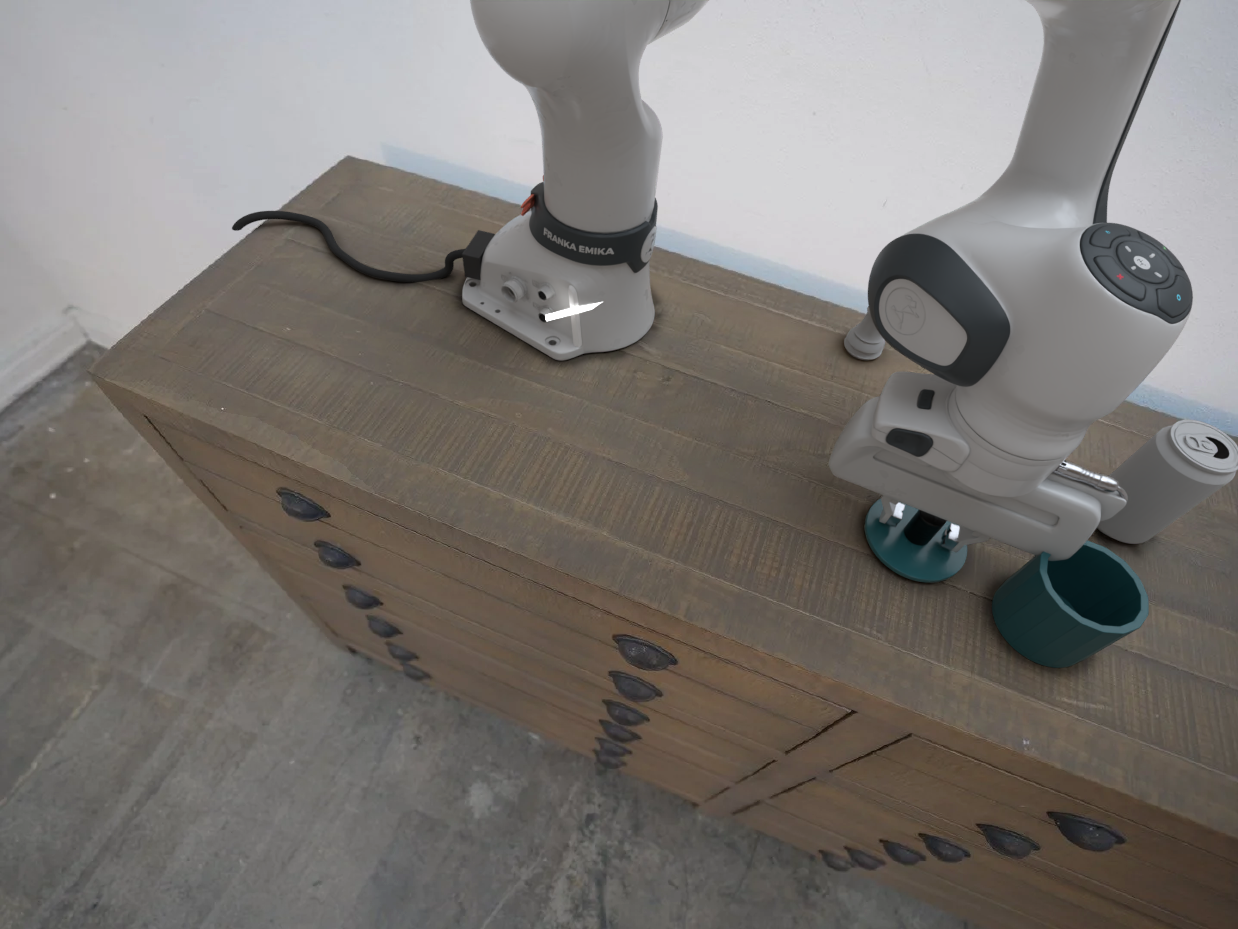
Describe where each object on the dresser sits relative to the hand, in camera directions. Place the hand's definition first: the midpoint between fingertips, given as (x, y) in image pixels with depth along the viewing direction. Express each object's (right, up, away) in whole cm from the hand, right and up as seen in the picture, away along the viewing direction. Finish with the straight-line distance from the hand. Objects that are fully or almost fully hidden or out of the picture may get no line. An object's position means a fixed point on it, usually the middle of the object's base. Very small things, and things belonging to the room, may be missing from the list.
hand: (918, 531), depth 62 cm
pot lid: (0, -1, +1) cm, 1 cm away
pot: (+9, -8, -3) cm, 12 cm away
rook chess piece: (+1, +19, +17) cm, 26 cm away
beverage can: (+21, +1, +5) cm, 22 cm away
